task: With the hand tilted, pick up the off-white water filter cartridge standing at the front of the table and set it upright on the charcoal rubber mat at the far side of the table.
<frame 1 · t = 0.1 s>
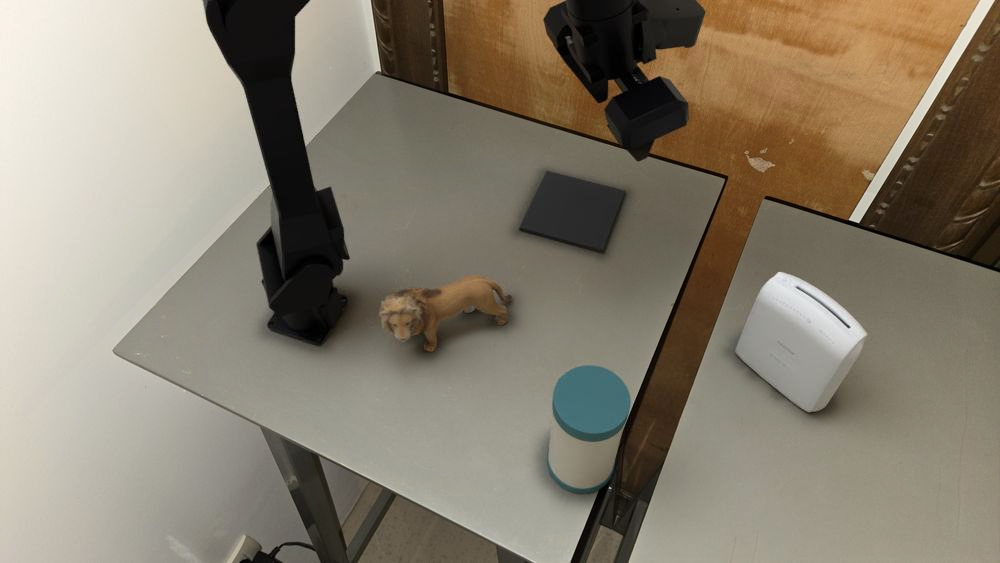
hand: (621, 128, 75), 15 cm above the table, tool pointing down, fingers open, 9 cm apart
filter: (580, 461, 70), on the table
photo printer: (779, 374, 76), on the table
mat: (573, 211, 89), on the table
lion figurine: (449, 334, 79), on the table
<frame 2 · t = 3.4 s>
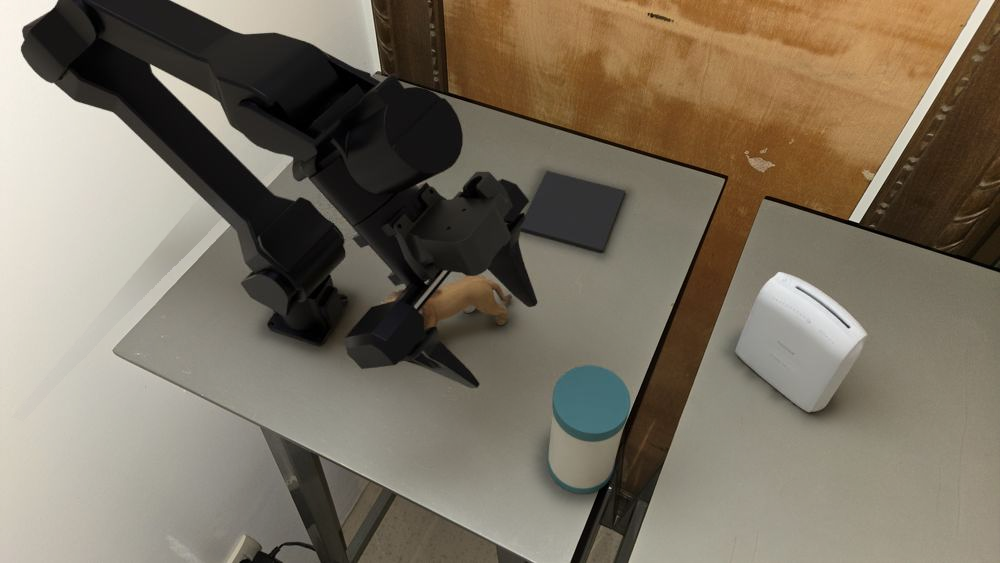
hand: (505, 344, 62), 14 cm above the table, tool tilted 45°, fingers open, 9 cm apart
nothing on the table moved.
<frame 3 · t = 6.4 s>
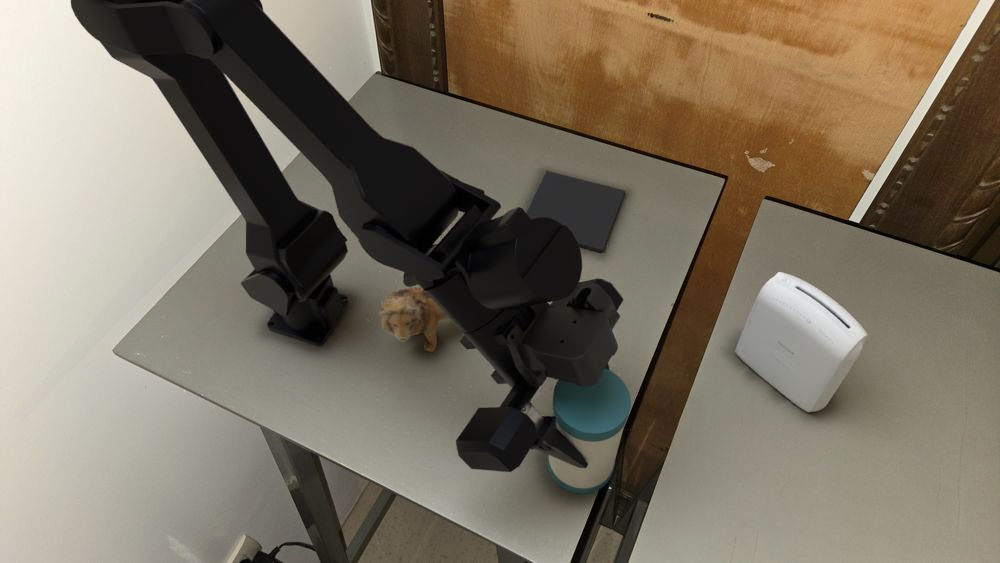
hand: (600, 437, 64), 7 cm above the table, tool tilted 45°, fingers closed on filter, 6 cm apart
filter: (580, 461, 70), on the table, touching gripper
everything else where it was.
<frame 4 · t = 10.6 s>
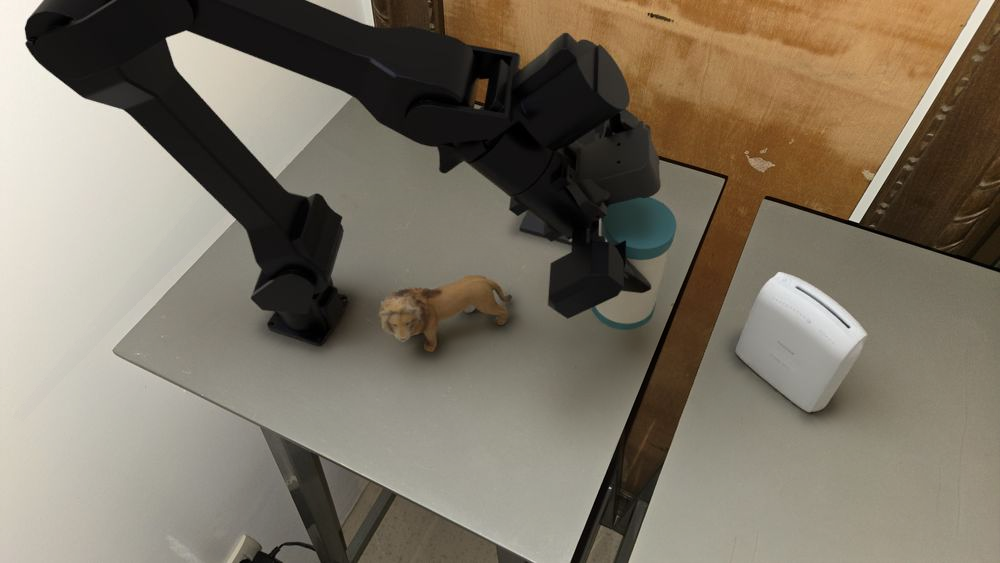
hand: (646, 262, 68), 12 cm above the table, tool tilted 45°, fingers closed on filter, 6 cm apart
filter: (622, 304, 74), point 6 cm above the table, touching gripper
everything else where it was.
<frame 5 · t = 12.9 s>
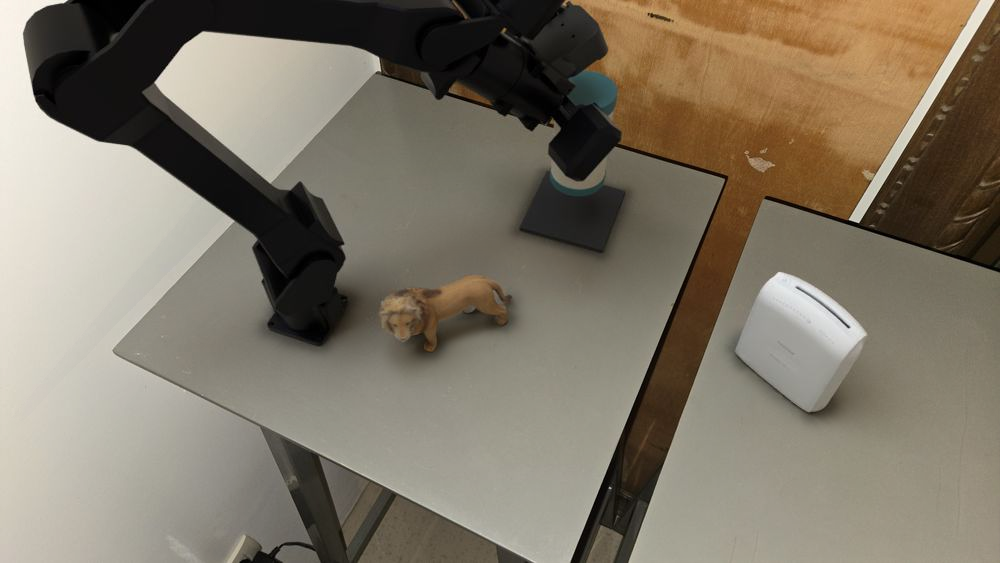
hand: (593, 127, 80), 12 cm above the table, tool tilted 45°, fingers closed on filter, 6 cm apart
filter: (577, 176, 85), point 6 cm above the table, touching gripper
everything else where it was.
when the fingers open (7 cm above the table, at t = 15.1 s): filter stays where it is, resting on mat.
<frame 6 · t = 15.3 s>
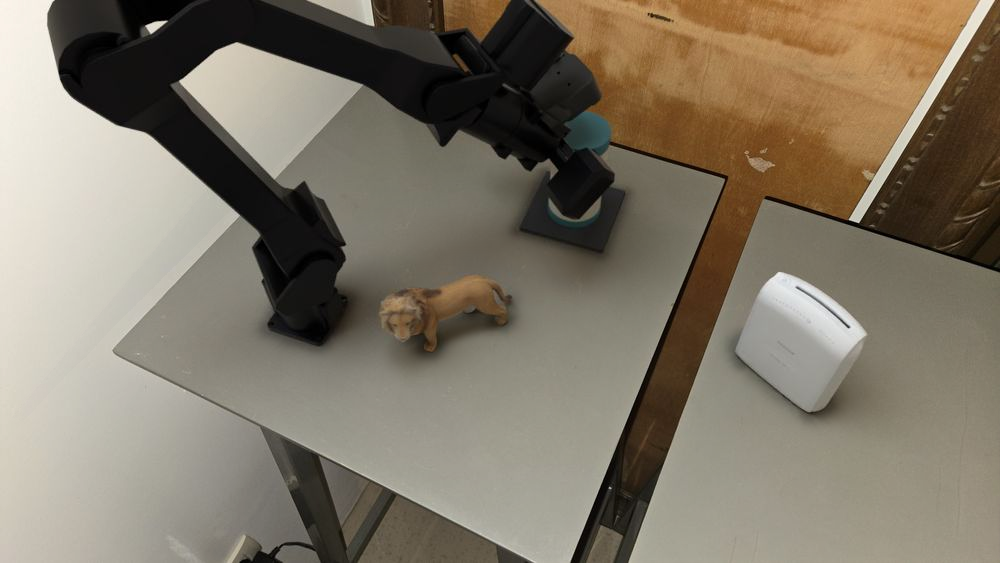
hand: (588, 163, 84), 7 cm above the table, tool tilted 45°, fingers open, 7 cm apart
filter: (573, 208, 89), point 1 cm above the table, touching mat
everything else where it was.
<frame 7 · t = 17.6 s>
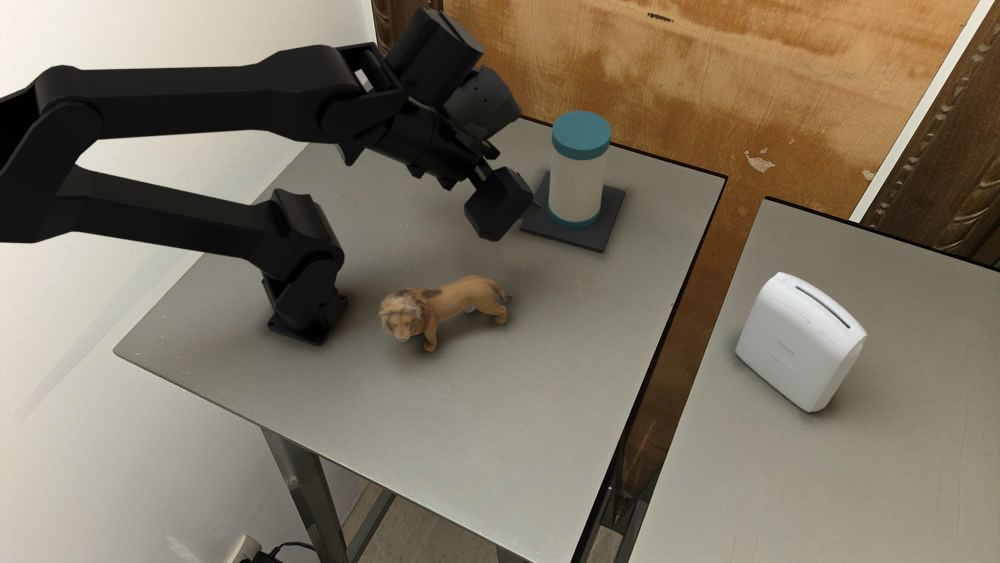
hand: (517, 181, 81), 8 cm above the table, tool tilted 45°, fingers open, 9 cm apart
nothing on the table moved.
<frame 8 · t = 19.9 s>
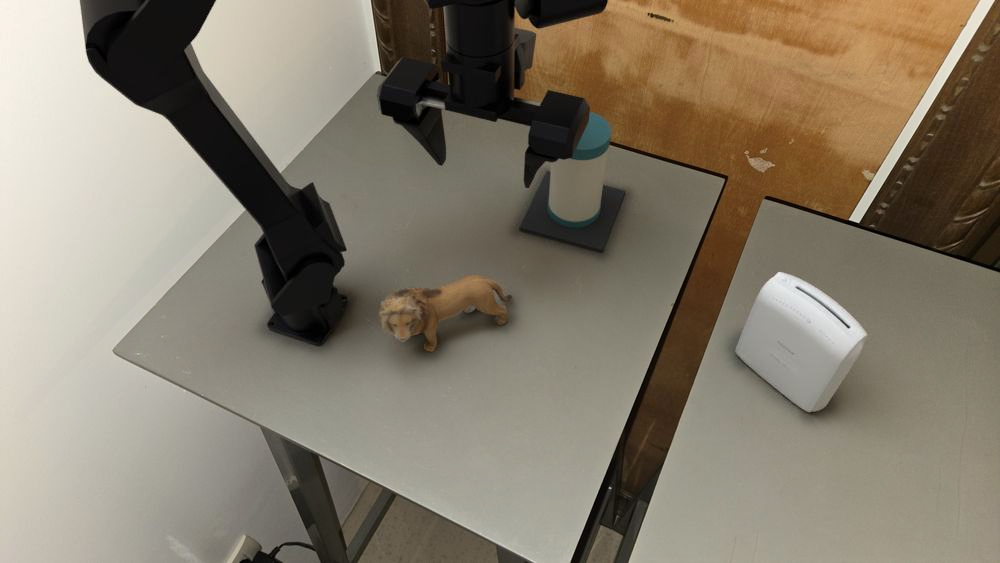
hand: (484, 173, 75), 13 cm above the table, tool pointing down, fingers open, 9 cm apart
nothing on the table moved.
at the end: filter inside the target area on the mat (0.0 cm from its centre), point 0.6 cm above the mat's base; filter tilted 0°; the gripper is holding nothing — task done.
